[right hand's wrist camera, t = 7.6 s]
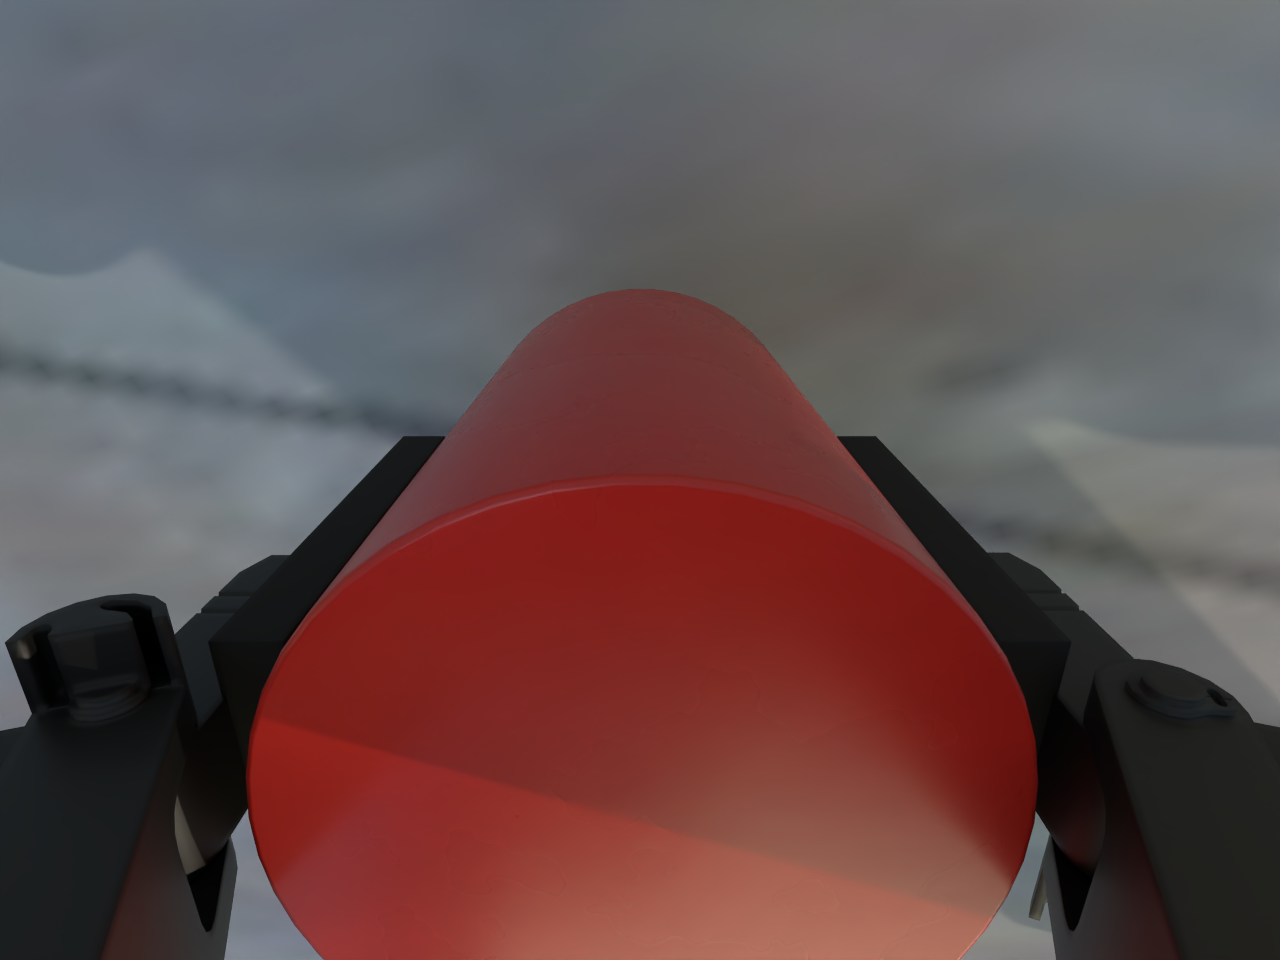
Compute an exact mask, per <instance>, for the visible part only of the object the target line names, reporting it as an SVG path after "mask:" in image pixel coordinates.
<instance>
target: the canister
mask: <svg viewBox="0 0 1280 960" xmlns="http://www.w3.org/2000/svg"><path fill="white" fill-rule="evenodd" d="M246 789H247V802H248V814H249V821H250V825H251V829H252V833H253V837H254V840H255V844H256V848H257V852H258V856H259V858H260V861H261V863H262V865H263V868H264V870H265V872H266V875H267V877H268V879H269V882H270V884H271V886H272V889H273V891H274V893H275V894H276V896H277V898H278V899H279V901H280V902H281V904H282V906H283V907H284V909H285V911H286V912H287V914H288V915H289V917H290V919H291V920H292V922H293V923H294V925H295V926H296V927H297V929H298V930H299V931H300V932H301V933H302V935H303V936H304V937H305V938H306V940H307V941H308V942H309V943H310V944H311V946H312V947H313V948H314V949H315V950H316V952H317V953H318V954H319V955H320V956H321V957H322V958H323V959H324V960H960V959H961V958H962V957H963V955H964V954H965V953H966V952H967V951H968V950H969V948H970V947H971V946H972V945H973V944H974V943H975V941H976V940H977V939H978V938H979V937H980V936H981V934H982V933H983V932H984V931H985V930H986V929H987V927H988V925H989V924H990V922H991V921H992V919H993V918H994V916H995V915H996V913H997V912H998V910H999V908H1000V907H1001V905H1002V904H1003V902H1004V901H1005V899H1006V898H1007V896H1008V894H1009V892H1010V890H1011V887H1012V885H1013V883H1014V881H1015V879H1016V876H1017V874H1018V872H1019V870H1020V868H1021V865H1022V863H1023V861H1024V858H1025V854H1026V851H1027V847H1028V844H1029V840H1030V836H1031V833H1032V829H1033V825H1034V821H1035V811H1036V801H1037V791H1038V771H1037V758H1036V744H1035V736H1034V732H1033V728H1032V724H1031V720H1030V716H1029V712H1028V709H1027V705H1026V701H1025V697H1024V694H1023V692H1022V690H1021V688H1020V686H1019V683H1018V681H1017V679H1016V677H1015V675H1014V672H1013V670H1012V668H1011V666H1010V663H1009V661H1008V659H1007V657H1006V655H1005V654H1004V652H1003V651H1002V649H1001V648H1000V646H999V645H998V643H997V642H996V640H995V639H994V637H993V636H992V634H991V633H990V631H989V630H988V628H987V627H986V625H985V624H984V623H983V621H982V620H981V618H980V617H979V615H978V614H977V613H976V612H975V610H974V609H973V608H972V607H971V605H970V604H969V603H968V602H967V600H966V599H965V598H964V597H963V595H962V594H961V593H960V591H959V590H958V589H957V588H956V586H955V585H954V584H953V583H952V581H951V580H950V579H949V578H948V576H947V575H946V574H945V573H944V571H943V570H942V569H941V568H940V566H939V565H938V564H937V563H936V561H935V560H934V559H933V558H932V556H931V555H930V554H929V553H928V551H927V550H926V549H925V547H924V546H923V545H922V544H921V542H920V541H919V540H918V539H917V537H916V536H915V535H914V534H913V532H912V531H911V530H910V529H909V527H908V526H907V525H906V524H905V522H904V521H903V520H902V519H901V517H900V516H899V515H898V514H897V512H896V511H895V510H894V509H893V507H892V506H891V505H890V503H889V502H888V501H887V500H886V498H885V497H884V496H883V495H882V493H881V492H880V491H879V490H878V488H877V487H876V486H875V485H874V483H873V482H872V481H871V480H870V478H869V477H868V476H867V475H866V473H865V472H864V471H863V470H862V468H861V467H860V466H859V464H858V463H857V462H856V461H855V459H854V458H853V457H852V456H851V454H850V453H849V452H848V451H847V449H846V448H845V447H844V446H843V444H842V443H841V442H840V441H839V439H838V438H837V437H836V436H835V434H834V433H833V432H832V431H831V429H830V428H829V427H828V426H827V424H826V423H825V422H824V420H823V419H822V418H821V417H820V415H819V414H818V413H817V412H816V410H815V409H814V408H813V407H812V405H811V404H810V403H809V402H808V400H807V399H806V398H805V397H804V395H803V394H802V393H801V392H800V390H799V389H798V388H797V387H796V385H795V384H794V383H793V382H792V380H791V379H790V378H789V376H788V375H787V374H786V373H785V371H784V370H783V369H782V368H781V366H780V365H779V364H778V363H777V361H776V360H775V359H774V358H773V356H772V355H771V354H770V353H769V351H768V350H767V349H766V348H765V346H764V345H763V344H762V343H761V342H760V341H759V340H758V339H757V338H756V337H755V336H754V335H753V333H752V332H750V331H749V330H748V329H747V328H746V327H744V326H743V325H742V324H741V323H740V322H738V321H737V320H736V319H735V318H733V317H731V316H730V315H728V314H726V313H725V312H723V311H722V310H720V309H718V308H717V307H714V306H712V305H710V304H708V303H705V302H703V301H701V300H698V299H696V298H693V297H689V296H686V295H682V294H679V293H675V292H668V291H661V290H654V289H629V290H621V291H613V292H607V293H603V294H600V295H596V296H592V297H588V298H586V299H583V300H581V301H579V302H576V303H574V304H571V305H569V306H567V307H565V308H564V309H562V310H560V311H558V312H557V313H555V314H553V315H552V316H550V317H548V318H547V319H546V320H545V321H543V322H542V323H541V324H540V325H538V326H537V327H536V328H535V329H533V330H532V331H531V332H530V333H529V334H528V335H527V336H526V337H525V338H524V339H523V341H522V342H521V343H520V344H519V345H518V346H517V347H516V348H515V350H514V351H513V352H512V353H511V355H510V356H509V357H508V359H507V360H506V361H505V362H504V364H503V365H502V366H501V368H500V369H499V370H498V371H497V373H496V374H495V375H494V376H493V378H492V379H491V380H490V382H489V383H488V384H487V385H486V387H485V388H484V389H483V390H482V392H481V393H480V394H479V396H478V397H477V398H476V399H475V401H474V402H473V403H472V404H471V406H470V407H469V408H468V410H467V411H466V412H465V413H464V415H463V416H462V417H461V419H460V420H459V421H458V422H457V424H456V425H455V426H454V427H453V429H452V430H451V431H450V433H449V434H448V435H447V436H446V438H445V439H444V440H443V441H442V443H441V444H440V445H439V447H438V448H437V449H436V450H435V452H434V453H433V454H432V455H431V457H430V458H429V459H428V461H427V462H426V463H425V464H424V466H423V467H422V468H421V470H420V471H419V472H418V473H417V475H416V476H415V477H414V478H413V480H412V481H411V482H410V484H409V485H408V486H407V487H406V489H405V490H404V491H403V492H402V494H401V495H400V496H399V498H398V499H397V500H396V501H395V503H394V504H393V505H392V506H391V508H390V509H389V510H388V512H387V513H386V514H385V515H384V517H383V518H382V519H381V521H380V522H379V523H378V524H377V526H376V527H375V528H374V529H373V531H372V532H371V533H370V535H369V536H368V537H367V538H366V540H365V541H364V542H363V543H362V545H361V546H360V547H359V549H358V550H357V551H356V552H355V554H354V555H353V556H352V557H351V559H350V560H349V561H348V563H347V564H346V565H345V566H344V568H343V569H342V570H341V572H340V573H339V574H338V575H337V577H336V578H335V579H334V580H333V582H332V583H331V584H330V586H329V587H328V588H327V589H326V591H325V592H324V593H323V594H322V596H321V597H320V598H319V600H318V601H317V602H316V603H315V605H314V606H313V607H312V609H311V610H310V611H309V612H308V614H307V615H306V617H305V618H304V619H303V621H302V622H301V624H300V625H299V626H298V628H297V629H296V631H295V632H294V633H293V635H292V636H291V638H290V639H289V641H288V642H287V643H286V645H285V646H284V648H283V649H282V650H281V652H280V654H279V656H278V658H277V661H276V663H275V665H274V667H273V669H272V671H271V673H270V675H269V677H268V679H267V681H266V683H265V685H264V688H263V690H262V692H261V695H260V699H259V703H258V706H257V710H256V713H255V717H254V720H253V724H252V727H251V731H250V739H249V749H248V759H247V769H246Z"/></svg>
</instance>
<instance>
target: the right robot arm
mask: <svg viewBox="0 0 1280 960" xmlns="http://www.w3.org/2000/svg"><path fill="white" fill-rule="evenodd" d="M836 437H837V438H838V439H839V441H840V442H841V443H842V444H843V446H844V447H845V448H846V449H847V451H848V452H849V453H850V454H851V456H852V457H853V458H854V459H855V461H856V462H857V463H858V464H859V466H860V467H861V468H862V470H863V471H864V472H865V473H866V475H867V476H868V477H869V478H870V480H871V481H872V482H873V483H874V485H875V486H876V487H877V488H878V490H879V491H880V492H881V493H882V495H883V496H884V497H885V498H886V500H887V501H888V502H889V503H890V505H891V506H892V507H893V509H894V510H895V511H896V512H897V514H898V515H899V516H900V517H901V519H902V520H903V521H904V522H905V524H906V525H907V526H908V527H909V529H910V530H911V531H912V532H913V534H914V535H915V536H916V537H917V539H918V540H919V541H920V542H921V544H922V545H923V546H924V547H925V549H926V550H927V551H928V553H929V554H930V555H931V556H932V558H933V559H934V560H935V561H936V563H937V564H938V565H939V566H940V568H941V569H942V570H943V571H944V573H945V574H946V575H947V576H948V578H949V579H950V580H951V581H952V583H953V584H954V585H955V586H956V588H957V589H958V590H959V591H960V593H961V594H962V595H963V597H964V598H965V599H966V600H967V602H968V603H969V604H970V605H971V607H972V608H973V609H974V610H975V612H976V613H977V614H978V615H979V617H980V618H981V620H982V621H983V623H984V624H985V625H986V627H987V628H988V630H989V631H990V633H991V634H992V636H993V637H994V639H995V640H996V642H997V643H998V645H999V646H1000V648H1001V649H1002V651H1003V652H1004V654H1005V655H1006V657H1007V659H1008V661H1009V663H1010V666H1011V668H1012V670H1013V672H1014V675H1015V677H1016V679H1017V681H1018V683H1019V686H1020V688H1021V690H1022V692H1023V694H1024V697H1025V701H1026V705H1027V709H1028V712H1029V716H1030V720H1031V724H1032V728H1033V732H1034V736H1035V744H1036V758H1037V771H1038V791H1037V801H1036V812H1037V814H1038V815H1039V817H1040V818H1041V820H1042V821H1043V823H1044V825H1045V826H1046V828H1047V829H1048V831H1049V832H1050V835H1049V839H1048V842H1047V846H1046V850H1045V853H1044V857H1043V860H1042V864H1041V868H1040V871H1039V875H1038V878H1037V882H1036V885H1035V889H1034V893H1033V896H1032V900H1031V906H1030V912H1029V917H1030V918H1033V919H1036V920H1040V918H1041V915H1042V911H1043V908H1044V905H1045V903H1046V902H1048V907H1049V914H1050V920H1051V927H1052V934H1053V941H1054V947H1055V954H1056V960H1280V727H1275V726H1270V725H1265V724H1260V723H1255V722H1253V720H1252V718H1251V717H1250V715H1249V713H1248V712H1247V711H1246V710H1245V709H1244V708H1243V706H1242V705H1241V704H1240V703H1239V702H1238V701H1237V700H1236V699H1235V698H1234V697H1233V696H1232V695H1231V694H1229V693H1228V692H1226V691H1225V690H1223V689H1222V688H1220V687H1218V686H1217V685H1215V684H1214V683H1212V682H1211V681H1209V680H1207V679H1205V678H1202V677H1200V676H1198V675H1196V674H1193V673H1191V672H1189V671H1186V670H1184V669H1182V668H1178V667H1175V666H1171V665H1167V664H1164V663H1160V662H1156V661H1152V660H1141V659H1134V658H1133V657H1132V656H1131V655H1130V654H1129V653H1128V652H1127V651H1125V650H1124V649H1123V648H1122V647H1121V646H1120V645H1119V644H1118V643H1117V642H1116V641H1115V640H1114V639H1113V638H1112V637H1111V636H1110V635H1109V634H1108V633H1107V632H1105V631H1104V630H1103V629H1102V628H1101V627H1100V626H1099V625H1098V624H1097V623H1096V622H1095V621H1094V620H1093V619H1092V618H1091V617H1090V616H1089V615H1088V614H1086V613H1085V612H1084V611H1079V606H1078V605H1077V604H1076V603H1075V602H1074V601H1073V600H1072V599H1071V598H1070V597H1069V596H1068V595H1066V594H1062V593H1061V589H1060V588H1059V587H1058V586H1057V585H1056V584H1055V583H1054V582H1053V581H1052V580H1051V579H1050V578H1049V577H1048V576H1046V575H1045V574H1044V573H1043V572H1042V571H1041V570H1040V569H1038V568H1036V567H1034V566H1033V565H1031V564H1029V563H1027V562H1025V561H1023V560H1021V559H1019V558H1018V557H1016V556H1014V555H1012V554H1010V553H987V552H986V551H985V550H984V549H983V548H982V547H981V546H980V545H979V544H978V543H977V542H976V541H975V540H974V539H973V538H972V537H971V536H970V535H969V533H968V532H967V531H966V530H965V529H964V528H963V527H962V526H961V525H960V524H959V523H958V522H957V521H956V520H955V519H954V518H953V517H952V516H951V515H950V514H949V513H948V511H947V510H946V509H945V508H944V507H943V506H942V505H941V504H940V503H939V502H938V501H937V500H936V499H935V498H934V497H933V496H932V495H931V494H930V493H929V492H928V491H927V489H926V488H925V487H924V486H923V485H922V484H921V483H920V482H919V481H918V480H917V479H916V478H915V477H914V476H913V475H912V474H911V473H910V472H909V471H908V470H907V469H906V467H905V466H904V465H903V464H902V463H901V462H900V461H899V460H898V459H897V458H896V457H895V456H894V455H893V454H892V453H891V452H890V451H889V450H888V449H887V448H886V447H885V445H884V444H883V443H882V442H881V441H880V440H879V439H878V438H877V437H876V436H836ZM444 439H445V436H404V437H403V438H402V439H401V440H400V441H399V442H398V443H397V444H396V445H395V446H394V447H393V448H392V449H391V450H390V451H389V452H388V453H387V454H386V455H385V456H384V458H383V459H382V460H381V461H380V462H379V463H378V464H377V465H376V466H375V467H374V468H373V469H372V470H371V471H370V472H369V473H368V474H367V475H366V476H365V477H364V478H363V479H362V481H361V482H360V483H359V484H358V485H357V486H356V487H355V488H354V489H353V490H352V491H351V492H350V493H349V494H348V495H347V496H346V497H345V498H344V499H343V500H342V501H341V503H340V504H339V505H338V506H337V507H336V508H335V509H334V510H333V511H332V512H331V513H330V514H329V515H328V516H327V517H326V518H325V519H324V520H323V521H322V522H321V523H320V525H319V526H318V527H317V528H316V529H315V530H314V531H313V532H312V533H311V534H310V535H309V536H308V537H307V538H306V539H305V540H304V541H303V542H302V543H301V544H300V545H299V547H298V548H297V549H296V550H295V551H294V552H293V553H292V554H291V555H271V556H269V557H267V558H265V559H263V560H262V561H260V562H258V563H256V564H254V565H252V566H250V567H249V568H247V569H245V570H243V571H241V572H239V573H238V574H237V575H236V576H235V577H234V578H233V579H232V580H231V581H230V582H229V583H228V584H227V585H226V586H225V587H224V588H223V589H222V590H221V591H220V592H219V596H214V597H213V598H212V599H211V600H210V601H209V602H208V603H207V604H206V605H205V606H204V607H203V608H202V609H201V613H197V614H196V615H195V616H193V617H192V618H191V619H190V620H189V621H188V622H187V623H186V624H185V625H184V626H183V627H182V628H181V629H180V630H179V631H178V632H177V633H176V634H175V635H174V631H173V627H172V624H171V620H170V617H169V613H168V610H167V606H166V604H165V603H164V602H162V601H161V600H159V599H158V598H156V597H155V596H149V595H141V594H121V595H109V596H103V597H99V598H95V599H90V600H86V601H81V602H77V603H74V604H72V605H69V606H66V607H63V608H61V609H58V610H55V611H53V612H50V613H47V614H45V615H43V616H42V617H40V618H38V619H36V620H34V621H33V622H31V623H29V624H27V625H25V626H24V627H22V628H21V629H19V630H18V631H17V632H16V633H15V634H14V635H13V636H12V637H11V638H10V639H8V640H7V641H6V642H5V644H6V647H7V650H8V652H9V655H10V657H11V660H12V663H13V665H14V668H15V670H16V673H17V676H18V678H19V681H20V684H21V686H22V689H23V691H24V694H25V697H26V699H27V702H28V704H29V707H30V710H31V712H32V715H31V716H30V718H29V720H28V722H27V723H26V725H25V726H23V727H18V728H13V729H8V730H3V731H0V960H224V956H225V950H226V943H227V936H228V929H229V923H230V916H231V909H232V902H233V896H234V889H235V882H236V875H237V869H238V868H237V861H236V854H235V850H234V846H233V842H232V839H231V834H232V833H233V831H234V829H235V828H236V826H237V825H238V823H239V822H240V820H241V818H242V817H243V815H244V814H245V812H246V810H247V809H248V802H247V789H246V769H247V759H248V749H249V739H250V731H251V727H252V724H253V720H254V717H255V713H256V710H257V706H258V703H259V699H260V695H261V692H262V690H263V688H264V685H265V683H266V681H267V679H268V677H269V675H270V673H271V671H272V669H273V667H274V665H275V663H276V661H277V658H278V656H279V654H280V652H281V650H282V649H283V648H284V646H285V645H286V643H287V642H288V641H289V639H290V638H291V636H292V635H293V633H294V632H295V631H296V629H297V628H298V626H299V625H300V624H301V622H302V621H303V619H304V618H305V617H306V615H307V614H308V612H309V611H310V610H311V609H312V607H313V606H314V605H315V603H316V602H317V601H318V600H319V598H320V597H321V596H322V594H323V593H324V592H325V591H326V589H327V588H328V587H329V586H330V584H331V583H332V582H333V580H334V579H335V578H336V577H337V575H338V574H339V573H340V572H341V570H342V569H343V568H344V566H345V565H346V564H347V563H348V561H349V560H350V559H351V557H352V556H353V555H354V554H355V552H356V551H357V550H358V549H359V547H360V546H361V545H362V543H363V542H364V541H365V540H366V538H367V537H368V536H369V535H370V533H371V532H372V531H373V529H374V528H375V527H376V526H377V524H378V523H379V522H380V521H381V519H382V518H383V517H384V515H385V514H386V513H387V512H388V510H389V509H390V508H391V506H392V505H393V504H394V503H395V501H396V500H397V499H398V498H399V496H400V495H401V494H402V492H403V491H404V490H405V489H406V487H407V486H408V485H409V484H410V482H411V481H412V480H413V478H414V477H415V476H416V475H417V473H418V472H419V471H420V470H421V468H422V467H423V466H424V464H425V463H426V462H427V461H428V459H429V458H430V457H431V455H432V454H433V453H434V452H435V450H436V449H437V448H438V447H439V445H440V444H441V443H442V441H443V440H444Z"/></svg>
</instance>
